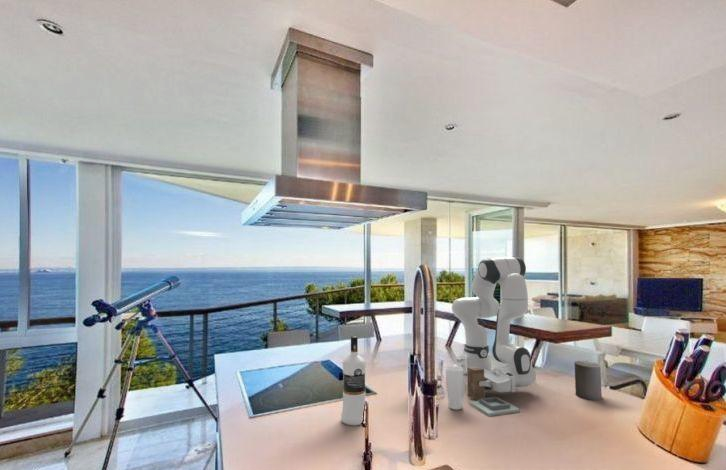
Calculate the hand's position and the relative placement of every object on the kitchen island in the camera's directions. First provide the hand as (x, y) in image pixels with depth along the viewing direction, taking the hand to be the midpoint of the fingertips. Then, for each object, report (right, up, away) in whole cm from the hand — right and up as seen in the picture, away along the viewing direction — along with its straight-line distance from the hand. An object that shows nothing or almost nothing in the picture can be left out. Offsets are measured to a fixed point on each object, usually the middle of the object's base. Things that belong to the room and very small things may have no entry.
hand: (474, 381), depth 155 cm
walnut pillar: (+1, -7, 0) cm, 7 cm away
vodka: (-51, -5, -24) cm, 56 cm away
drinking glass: (-11, -6, -11) cm, 17 cm away
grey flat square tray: (+4, -6, -12) cm, 14 cm away
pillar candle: (+50, -7, +1) cm, 50 cm away
